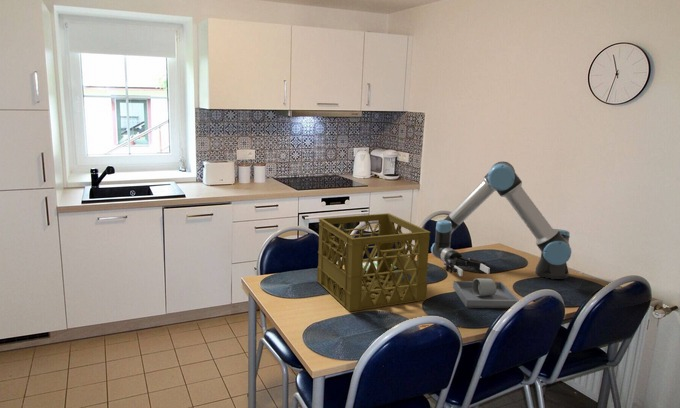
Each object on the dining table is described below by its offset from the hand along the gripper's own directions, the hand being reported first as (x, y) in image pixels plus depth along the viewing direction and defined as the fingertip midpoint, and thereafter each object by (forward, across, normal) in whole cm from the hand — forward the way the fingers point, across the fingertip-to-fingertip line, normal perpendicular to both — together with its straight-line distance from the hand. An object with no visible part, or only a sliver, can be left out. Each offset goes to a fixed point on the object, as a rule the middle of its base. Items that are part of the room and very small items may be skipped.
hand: (475, 272), depth 225 cm
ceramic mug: (+7, 0, -8) cm, 10 cm away
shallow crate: (+9, 0, -8) cm, 12 cm away
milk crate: (-10, +46, -9) cm, 48 cm away
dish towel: (-42, +30, -9) cm, 52 cm away
